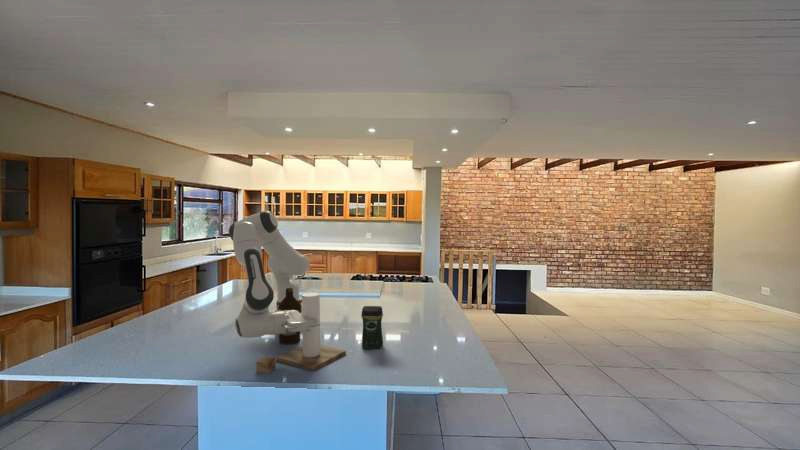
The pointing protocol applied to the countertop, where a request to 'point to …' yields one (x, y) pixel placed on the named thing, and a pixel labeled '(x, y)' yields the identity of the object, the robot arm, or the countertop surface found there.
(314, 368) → the board
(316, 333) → the cylindrical container
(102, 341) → the countertop surface
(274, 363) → the walnut block
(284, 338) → the olive oil
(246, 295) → the robot arm
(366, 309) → the coffee jar
